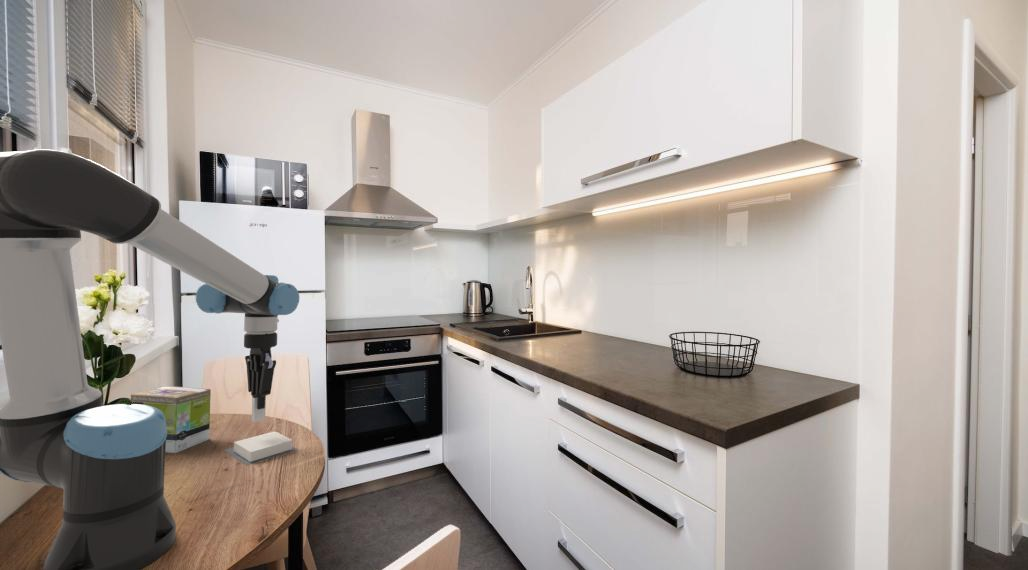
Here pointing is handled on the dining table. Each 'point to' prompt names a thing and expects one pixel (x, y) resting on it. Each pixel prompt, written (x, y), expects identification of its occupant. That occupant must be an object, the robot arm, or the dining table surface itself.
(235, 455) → the mat
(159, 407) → the tea box
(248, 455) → the tile
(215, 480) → the dining table surface
